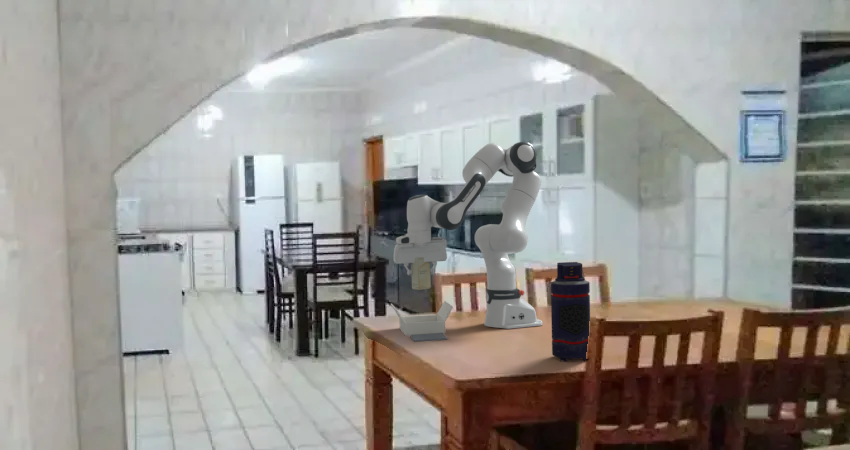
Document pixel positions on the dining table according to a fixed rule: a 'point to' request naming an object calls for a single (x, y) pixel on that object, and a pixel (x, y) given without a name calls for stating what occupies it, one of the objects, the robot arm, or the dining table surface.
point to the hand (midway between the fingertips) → (420, 274)
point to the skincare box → (420, 274)
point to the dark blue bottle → (570, 312)
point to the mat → (428, 337)
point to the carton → (425, 321)
